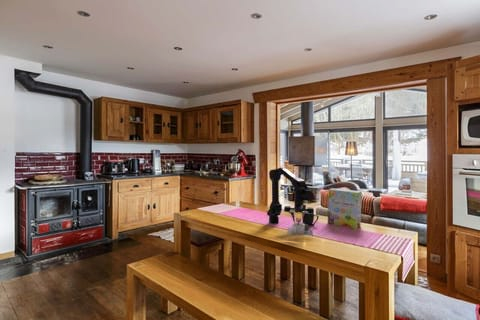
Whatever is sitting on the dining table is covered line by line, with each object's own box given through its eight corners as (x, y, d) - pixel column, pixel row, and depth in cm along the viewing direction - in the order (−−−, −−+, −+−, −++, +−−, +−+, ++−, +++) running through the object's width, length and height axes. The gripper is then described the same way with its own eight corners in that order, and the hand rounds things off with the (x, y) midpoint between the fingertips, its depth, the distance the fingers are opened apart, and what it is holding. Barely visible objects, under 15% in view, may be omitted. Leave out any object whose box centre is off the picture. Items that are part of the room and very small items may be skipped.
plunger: (294, 231, 174) (294, 218, 173) (294, 229, 179) (294, 216, 178) (302, 231, 173) (302, 219, 172) (302, 229, 178) (302, 217, 177)
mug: (314, 229, 184) (314, 215, 184) (299, 225, 193) (299, 212, 193) (320, 227, 190) (321, 213, 190) (305, 223, 199) (306, 210, 198)
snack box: (326, 223, 199) (327, 189, 199) (331, 221, 206) (332, 188, 205) (357, 229, 186) (358, 192, 185) (361, 226, 192) (362, 190, 192)
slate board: (286, 234, 171) (287, 233, 171) (287, 229, 184) (287, 227, 184) (313, 236, 167) (313, 235, 167) (312, 230, 180) (312, 229, 180)
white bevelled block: (292, 232, 173) (292, 224, 173) (292, 229, 180) (292, 221, 180) (308, 233, 171) (308, 225, 170) (307, 230, 178) (307, 222, 178)
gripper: (283, 200, 169) (283, 224, 170) (314, 202, 165) (313, 227, 166) (284, 197, 180) (284, 220, 181) (313, 199, 176) (313, 222, 176)
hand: (298, 222), depth 175 cm, fingers open, 5 cm apart
